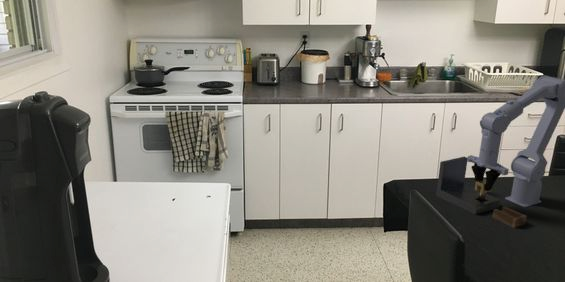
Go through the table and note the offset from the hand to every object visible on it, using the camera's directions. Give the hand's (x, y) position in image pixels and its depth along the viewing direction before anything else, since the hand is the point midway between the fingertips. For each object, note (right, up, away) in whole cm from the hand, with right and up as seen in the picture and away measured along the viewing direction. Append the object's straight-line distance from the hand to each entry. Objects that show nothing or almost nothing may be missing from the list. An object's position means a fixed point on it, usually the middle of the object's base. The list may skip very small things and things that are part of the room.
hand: (483, 188), depth 162 cm
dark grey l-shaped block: (-3, -5, +7) cm, 9 cm away
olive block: (0, -3, +1) cm, 4 cm away
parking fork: (+5, -10, -6) cm, 12 cm away
